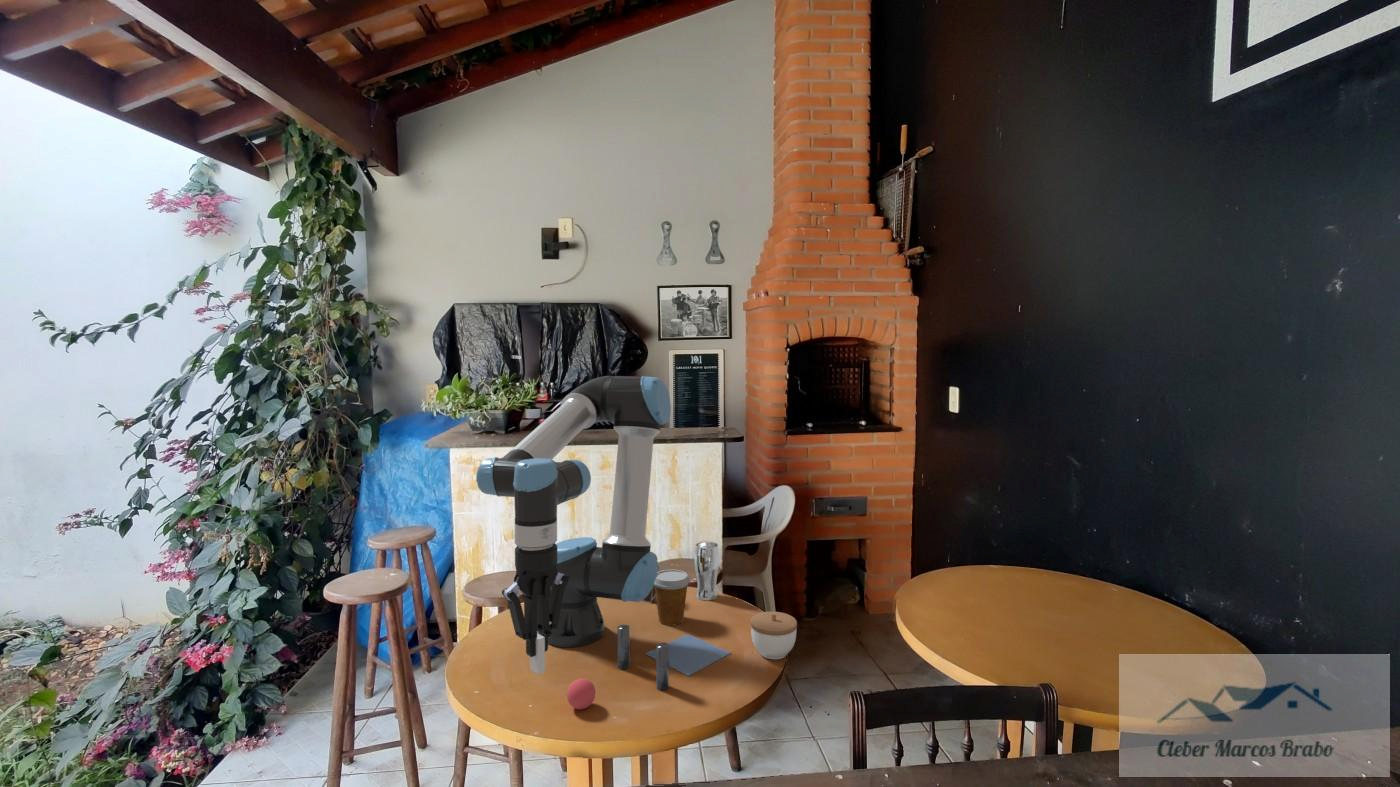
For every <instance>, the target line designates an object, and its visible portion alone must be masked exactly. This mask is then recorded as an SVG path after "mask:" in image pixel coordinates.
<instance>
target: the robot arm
mask: <svg viewBox="0 0 1400 787" xmlns="http://www.w3.org/2000/svg"><path fill="white" fill-rule="evenodd" d="M671 407H672V405H671V398H670V393H669V390H668V387H667V385H666V384H665V382H664V381H663V380H662V379H661V378H659V377H656V376H647V375H638V376H637V375H636V376H635V375H631V376H630V375H629V376H628V375H626V376H625V375H619V376H618V375H604V376H600V377H595V378H593V379H591V380H588V381H587V382H584V383H582V384H581V385H579V386H576V388H574V389H573V390H572V391H571V392H569V393H568V394H567V395H565V397H563V398H562V400H561V401H560V406H559V407H558V408H557V409H556V410H555V411H553V413H551V414H550V415H549V416H548V417H547V418H546V419H544V420H543V421H542V422H541V423H540V424H539V425H537V427H536V428H534V430H532V431H531V432H530V433H529V434H527V436H525V437H524V438H523V439H521V441H519V442H518V444H517V445H515V446H514V447H513V448H512V449H510V450H509V451H508V453H506V454H505V455H504V456H502V457H497V456H495V457H488V458H486V459H483V461H481V462H480V464H479V466H478V468H477V470H476V477H475V479H476V480H475V481H476V483H477V486H478V489H479V491H480V492H481V493H483V494H485V495H490V496H496V497H499V498H500V497H507V498H514V544H515V546H516V547H515V548H514V567H515V575H514V578H513V583H512V584H511V585H510V586H509V587H508V588H505V587H504V588H503V589H502V590H501V594H502V596H503V597H504V598H505V600H506V601H507V605H508V610H509V613H510V618H511V620H512V625H513V629H514V633H515V636H517V637H518V638H520V639H522V640H524V641H525V653H526V655H527V656H529V670H530V671H531V672H533V673H535V674H536V675H541V674H543V673H545V672H546V656H545V654H546V652H548V651H549V650H548V649H549V645H551V646H556V647H561V648H572V647H573V648H575V647H581V646H585V645H589V644H592V643H593V642H596V641H598V640H599V639H601V637H603V635H604V634H605V621H604V618H603V615H602V614H603V613H602V612H601V609H600V607H599V603H598V598H601V599H610V600H616V601H617V600H618V601H622V602H624V603H625V602H635V603H640V602H643V601H642V600H644V599H645V598H646V597H647V596H648V595H649V593H650V591H651V589H652V587H653V585H654V582H655V579H656V575H657V570H658V566H659V562H658V555H657V554H656V553H654V552H653V551H651V546H652V545H651V544H652V543H651V542H650V541H649V540H648V538H647V537H646V533H647V532H646V530H647V521H648V520H647V518H648V507H649V496H650V484H651V472H652V461H653V449H654V438H656V437H657V436H658V435H659V434H660V433H661V427H662V426H661V425H666V424H667V423H668V422H669V420H670V416H671ZM600 422H601V423H602V422H609V423H613V430H614V431H615V432H616V433H617V435H618V442H617V452H616V464H615V474H614V486H613V497H612V507H611V515H610V516H611V517H610V529H609V534H608V535H607V536H606V537H605V538H604V539H603V540H602V546H601V547H599V546H597V545H598V542H597V540H596V539H595V538H593V537H589V536H588V537H586V536H582V537H575V538H570V539H566V540H562V541H559V542H557V541H558V505H561V504H563V503H566V502H567V501H571V500H574V499H577V498H579V497H580V496H581V495H583V494H584V493H585V492H587V490H588V489H589V488H590V485H591V483H592V482H591V481H592V476H591V472H590V469H589V468H588V466H587V465H586V464H585V463H584V462H582V461H580V460H578V459H566V460H562V461H555V460H554V458H556V456H557V455H558V454H559V453H561V451H562V450H563V449H564V448H565V447H566V446H567V445H568V444H569V443H570V442H572V441H573V439H574V438H575V437H576V436H577V435H579V433H580V432H581V431H583V430H585V429H588V428H591V427H592V426H593V425H594V424H595V423H600ZM556 542H557V543H556ZM519 591H520V592H521V593H522V600H523V607H522V603H521V600H520V598H519V597H520V593H519Z"/></svg>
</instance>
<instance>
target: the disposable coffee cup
mask: <svg viewBox="0 0 1400 787" xmlns="http://www.w3.org/2000/svg"><path fill="white" fill-rule="evenodd" d="M689 583H690V578H689V576H688V573H687V572H686V571H683V570H681V569H671V568H670V569H663V570H660V571H659V572H657V575H656V579H655V582H654V585H655V593H656V595H655V600H656V608H657V615H658V621H659V623H660V624H662V625H664V624H666V626H675V625H674V624H677V625H679V624H678V623H680V624H681V623H683V622H682V621H684V614H685V606H686V600H687V599H686V598H687V592H688V586H689Z"/></svg>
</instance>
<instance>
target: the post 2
mask: <svg viewBox="0 0 1400 787" xmlns="http://www.w3.org/2000/svg"><path fill="white" fill-rule="evenodd" d="M655 647H656V648H655V649H656V660H655V661H656V662H655V663H656V664H655V666H656V668H655V669H656V670H655V671H656V673H655V674H656V675H655V676H656V677H655V678H656V680H655V683H656V684H655V685H656V690H657V691H659V692H660V691H661V692H663V691H664V692H665V691H668V690H669V687H670V669H669V668H670V667H669V645H668V644H667V642H659V643H657V644H655Z"/></svg>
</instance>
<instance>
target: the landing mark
mask: <svg viewBox="0 0 1400 787" xmlns="http://www.w3.org/2000/svg"><path fill="white" fill-rule="evenodd" d="M666 643H667V642H666ZM667 644H668V645H669V668H671V669H673V670H675V671H678V672H679V673H681V674H684V675H686V676H687V677H690V676H691V675H693V674H695V673H697V672H698V671H700V670H703V669H705V668H706V667H708V666H710V665H712V664H714V663H716V662H717V661H719V660H722V659H724V658H725V657H727V656H728V655H730V654H731V655H732V653H731V652H730V651H729V650H727V649H724V648H722V647H719V646H717V645H714V644H712V643H710V642H707V641H705V640H702V639H700V638H698V637H696V636H694V635H691V634H689V633H687V634H685V635H681V636H680V637H679V638H676V639H674V640H672V641H669V642H668V643H667ZM645 654H646V656H647V655H648V656H647V657H649V656H650V657H649V658H651V657H652V658H651V659H653V658H654V659H653V660H655V661H656V648H655V649H652V650H650V651H648V652H646V653H645Z"/></svg>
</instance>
